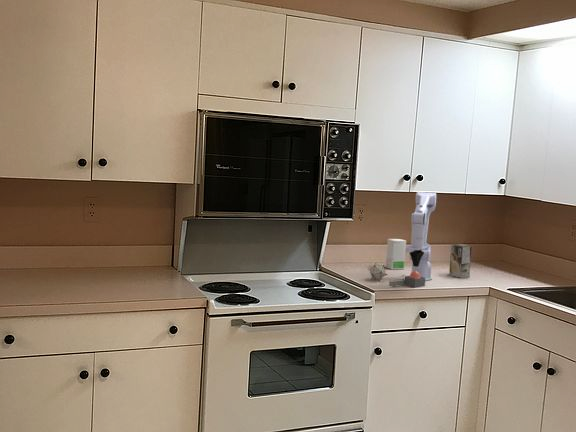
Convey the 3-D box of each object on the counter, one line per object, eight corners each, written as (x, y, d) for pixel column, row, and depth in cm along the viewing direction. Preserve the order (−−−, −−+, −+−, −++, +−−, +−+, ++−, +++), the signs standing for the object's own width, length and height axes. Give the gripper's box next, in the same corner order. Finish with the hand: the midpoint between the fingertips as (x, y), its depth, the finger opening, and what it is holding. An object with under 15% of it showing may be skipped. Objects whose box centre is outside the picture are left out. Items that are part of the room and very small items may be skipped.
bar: (402, 284, 309) (402, 279, 309) (404, 284, 308) (404, 279, 308) (388, 286, 304) (389, 281, 304) (390, 286, 303) (391, 281, 303)
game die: (375, 288, 315) (369, 273, 310) (369, 278, 323) (363, 264, 317) (392, 280, 315) (385, 265, 310) (385, 270, 323) (379, 255, 317)
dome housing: (414, 283, 313) (414, 274, 313) (424, 286, 308) (425, 277, 307) (404, 284, 309) (404, 276, 309) (414, 287, 304) (415, 279, 303)
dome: (414, 280, 312) (415, 269, 311) (422, 282, 308) (423, 271, 307) (407, 281, 309) (407, 270, 308) (415, 283, 305) (415, 272, 304)
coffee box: (470, 277, 332) (472, 246, 330) (460, 278, 329) (462, 246, 327) (457, 273, 340) (460, 243, 338) (448, 274, 337) (450, 243, 335)
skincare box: (391, 269, 343) (393, 240, 341) (385, 267, 349) (386, 238, 347) (405, 269, 346) (407, 240, 344) (398, 266, 352) (400, 238, 350)
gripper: (420, 235, 314) (418, 263, 315) (401, 237, 304) (399, 266, 306) (432, 237, 308) (430, 265, 310) (413, 239, 299) (411, 268, 300)
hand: (415, 266), depth 307 cm, fingers closed
